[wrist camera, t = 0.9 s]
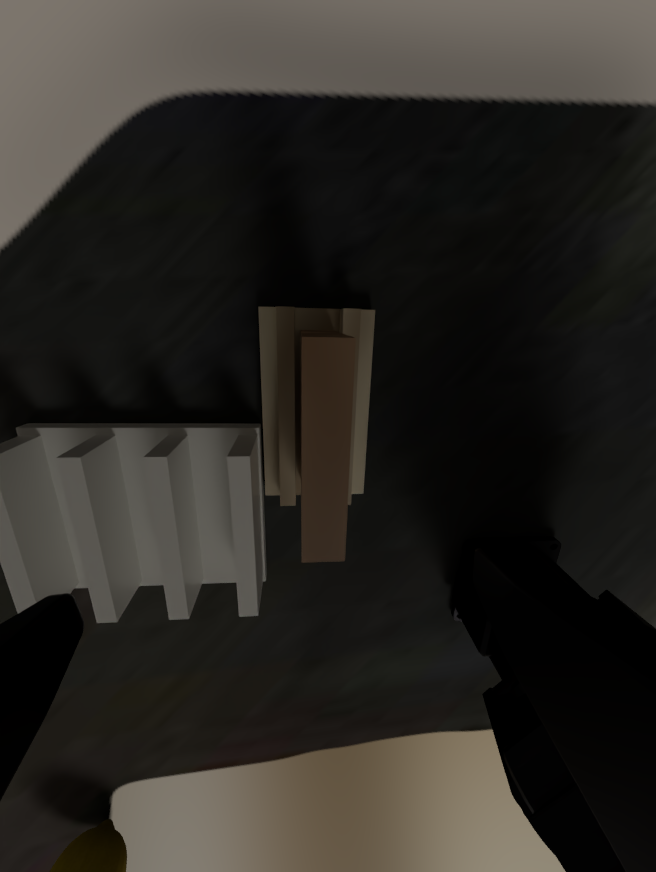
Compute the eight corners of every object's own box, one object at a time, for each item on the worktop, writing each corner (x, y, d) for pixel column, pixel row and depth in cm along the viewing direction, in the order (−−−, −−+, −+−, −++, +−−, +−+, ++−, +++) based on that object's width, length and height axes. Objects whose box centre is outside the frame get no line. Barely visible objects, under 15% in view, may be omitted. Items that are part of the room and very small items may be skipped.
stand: (371, 310, 17) (380, 309, 15) (360, 487, 21) (367, 504, 19) (260, 307, 17) (255, 305, 15) (266, 488, 20) (263, 506, 18)
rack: (260, 423, 19) (251, 447, 15) (266, 572, 22) (260, 621, 18) (27, 423, 18) (-41, 449, 14) (69, 579, 21) (22, 632, 17)
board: (333, 330, 17) (355, 338, 10) (329, 478, 19) (344, 561, 13) (300, 329, 17) (302, 336, 10) (300, 478, 19) (301, 562, 13)
